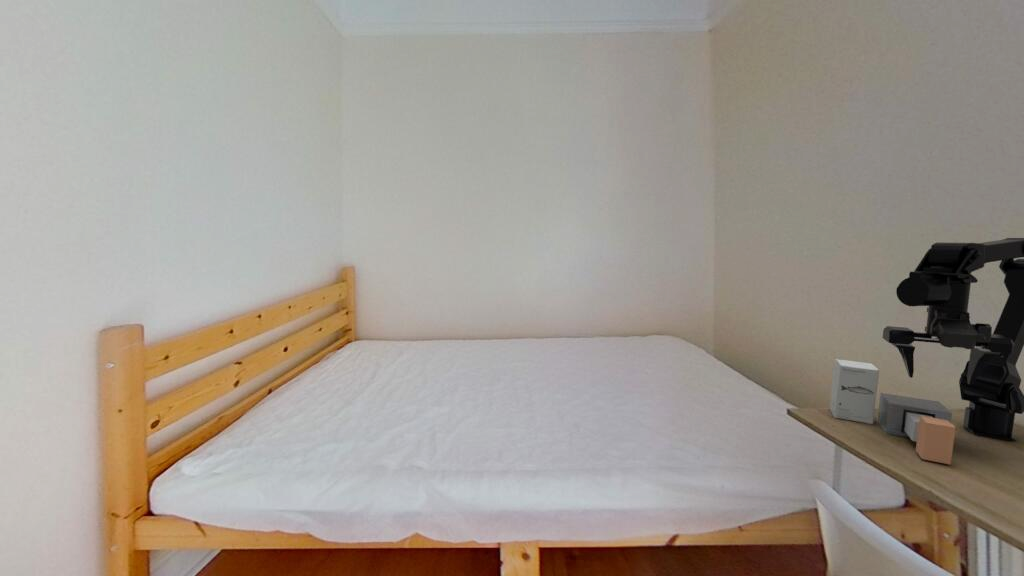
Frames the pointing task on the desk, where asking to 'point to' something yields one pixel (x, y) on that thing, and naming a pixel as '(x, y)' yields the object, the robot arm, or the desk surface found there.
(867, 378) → the supplement box
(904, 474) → the desk surface
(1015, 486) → the desk surface
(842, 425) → the desk surface
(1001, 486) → the desk surface
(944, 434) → the cover
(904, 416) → the block
